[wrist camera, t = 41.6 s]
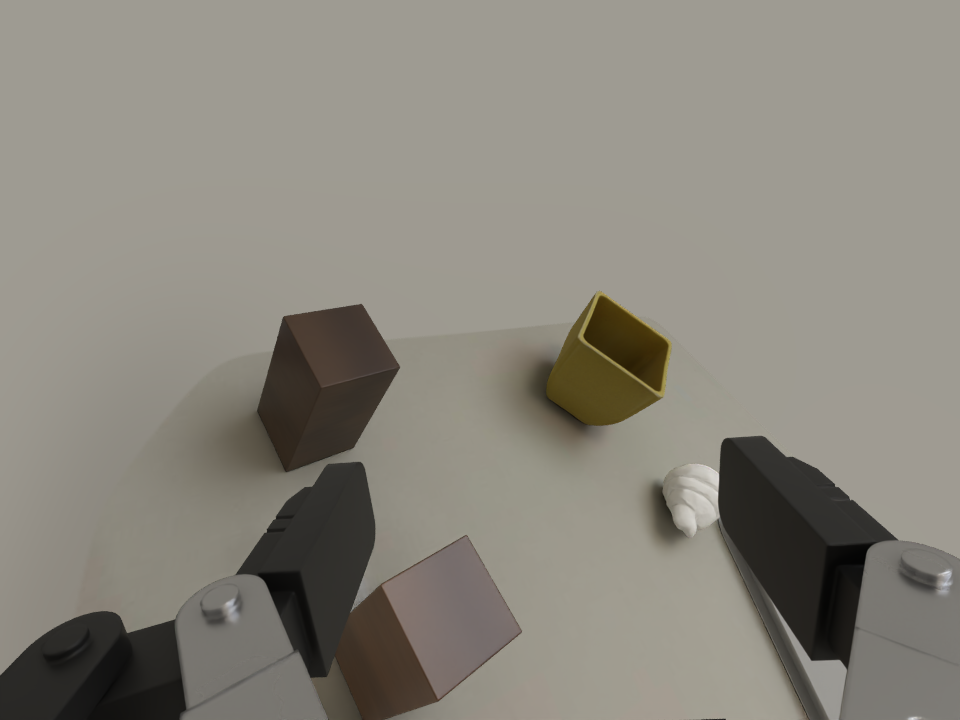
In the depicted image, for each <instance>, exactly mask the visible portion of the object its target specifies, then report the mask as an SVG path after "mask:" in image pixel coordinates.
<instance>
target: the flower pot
mask: <svg viewBox="0 0 960 720" xmlns="http://www.w3.org/2000/svg"><path fill="white" fill-rule="evenodd" d="M671 349H672V345H671V341H669V340H668V339H667V338H666V337H664V336H663V335H662V334H660V333H659V332H657V331H656V330H655V329H653V328H652V327H650V326H649V325H647V324H646V323H644V322H643V321H642V320H640V319H639V318H638V317H636V316H635V315H633V314H632V313H630V312H629V311H628V310H626V309H625V308H623V307H622V306H621V305H619V304H618V303H616V302H615V301H614V300H612V299H611V298H610V297H608V296H607V295H605V294H604V293H602V292H601V291H598V292H596V294H595V295H594V297H593V298H592V299H591V301H590V302H589V304H588V306H587V307H586V308H585V310H584V311H583V312H582V314H581V315H580V317H579V318H578V320H577V321H576V322H575V324H574V325H573V327H572V329H571V330H570V332H569V334H568V336H567V338H566V340H565V343H564V345H563V347H562V350H561V352H560V354H559V357H558V359H557V361H556V363H555V365H554V367H553V369H552V371H551V373H550V376H549V378H548V382H547V387H546V395H547V397H548V398H549V399H550V400H552V401H553V402H555V403H556V404H557V405H559V406H560V407H562V408H563V409H565V410H566V411H568V412H569V413H570V414H572V415H573V416H575V417H576V418H577V419H579V420H580V421H582V422H583V423H585V424H587V425H596V426H603V425H611V424H615V423H618V422H621V421H623V420H625V419H627V418H629V417H631V416H633V415H634V414H636V413H638V412H639V411H641V410H643V409H645V408H646V407H648V406H650V405H651V404H653V403H655V402H656V401H658V400H660V399H661V398H663V397H664V394H665V387H666V378H667V369H668V364H669V359H670V354H671Z"/></svg>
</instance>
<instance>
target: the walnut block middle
mask: <svg viewBox="0 0 960 720" xmlns="http://www.w3.org/2000/svg"><path fill="white" fill-rule="evenodd" d="M521 632H522V630H521V629H520V627H519V625H518V623H517V622H516V620H515V618H514V616H513V615H512V613H511V611H510V609H509V608H508V606H507V604H506V602H505V601H504V599H503V597H502V595H501V594H500V592H499V590H498V589H497V587H496V585H495V583H494V582H493V580H492V578H491V576H490V575H489V573H488V571H487V569H486V568H485V566H484V564H483V562H482V561H481V559H480V557H479V555H478V554H477V552H476V550H475V548H474V547H473V545H472V543H471V541H470V540H469V538H468V536H467V535H465V536H463V537H462V538H460V539H458V540H457V541H455V542H453V543H451V544H450V545H448V546H446V547H444V548H443V549H441V550H439V551H438V552H436V553H434V554H432V555H431V556H429V557H427V558H425V559H424V560H422V561H420V562H419V563H417V564H415V565H413V566H412V567H410V568H408V569H406V570H405V571H403V572H401V573H399V574H398V575H396V576H394V577H393V578H391V579H389V580H387V581H386V582H384V583H382V584H381V585H380V586H379V587H377V588H376V589H375V590H374V591H373V592H372V593H371V594H370V595H369V596H368V597H367V598H366V599H365V600H364V601H362V602H361V603H360V604H359V605H358V606H357V607H356V608H355V609H354V610H353V611H352V612H351V613H350V614H349V617H348V620H347V622H346V625H345V628H344V631H343V634H342V636H341V639H340V642H339V645H338V647H337V650H336V653H335V657H336V659H337V661H338V663H339V666H340V668H341V670H342V673H343V675H344V677H345V679H346V682H347V684H348V686H349V689H350V691H351V693H352V696H353V698H354V700H355V702H356V705H357V707H358V709H359V712H360V714H361V716H362V718H363V720H384V719H387V718H390V717H393V716H396V715H399V714H402V713H405V712H408V711H411V710H414V709H417V708H420V707H423V706H426V705H429V704H432V703H435V702H438V701H439V700H441V699H442V698H443V697H444V696H445V695H447V694H448V693H449V692H450V691H452V690H453V689H454V688H455V687H456V686H458V685H459V684H460V683H461V682H462V681H464V680H465V679H466V678H467V677H468V676H470V675H471V674H472V673H473V672H475V671H476V670H477V669H478V668H479V667H481V666H482V665H483V664H484V663H485V662H487V661H488V660H489V659H490V658H491V657H493V656H494V655H495V654H496V653H498V652H499V651H500V650H501V649H502V648H504V647H505V646H506V645H507V644H508V643H510V642H511V641H512V640H513V639H515V638H516V637H517V636H518V635H519V634H521Z"/></svg>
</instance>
